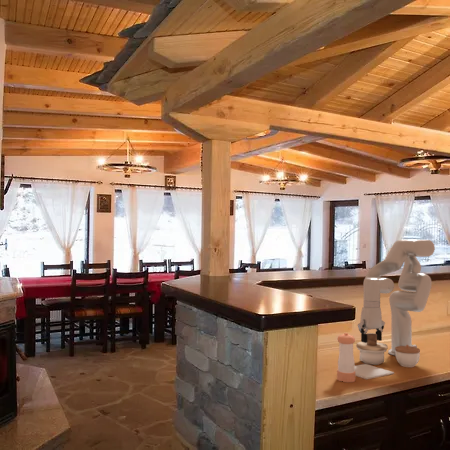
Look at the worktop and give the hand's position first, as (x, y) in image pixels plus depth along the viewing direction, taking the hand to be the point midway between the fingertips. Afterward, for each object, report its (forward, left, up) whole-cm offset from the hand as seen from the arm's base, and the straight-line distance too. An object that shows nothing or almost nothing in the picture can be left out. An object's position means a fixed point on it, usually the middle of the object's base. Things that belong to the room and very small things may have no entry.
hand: (371, 341), depth 228 cm
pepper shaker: (+31, +14, -10) cm, 35 cm away
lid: (0, 0, -3) cm, 3 cm away
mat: (+15, +10, -10) cm, 20 cm away
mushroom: (0, 0, -10) cm, 10 cm away
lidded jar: (-10, +12, -10) cm, 19 cm away
